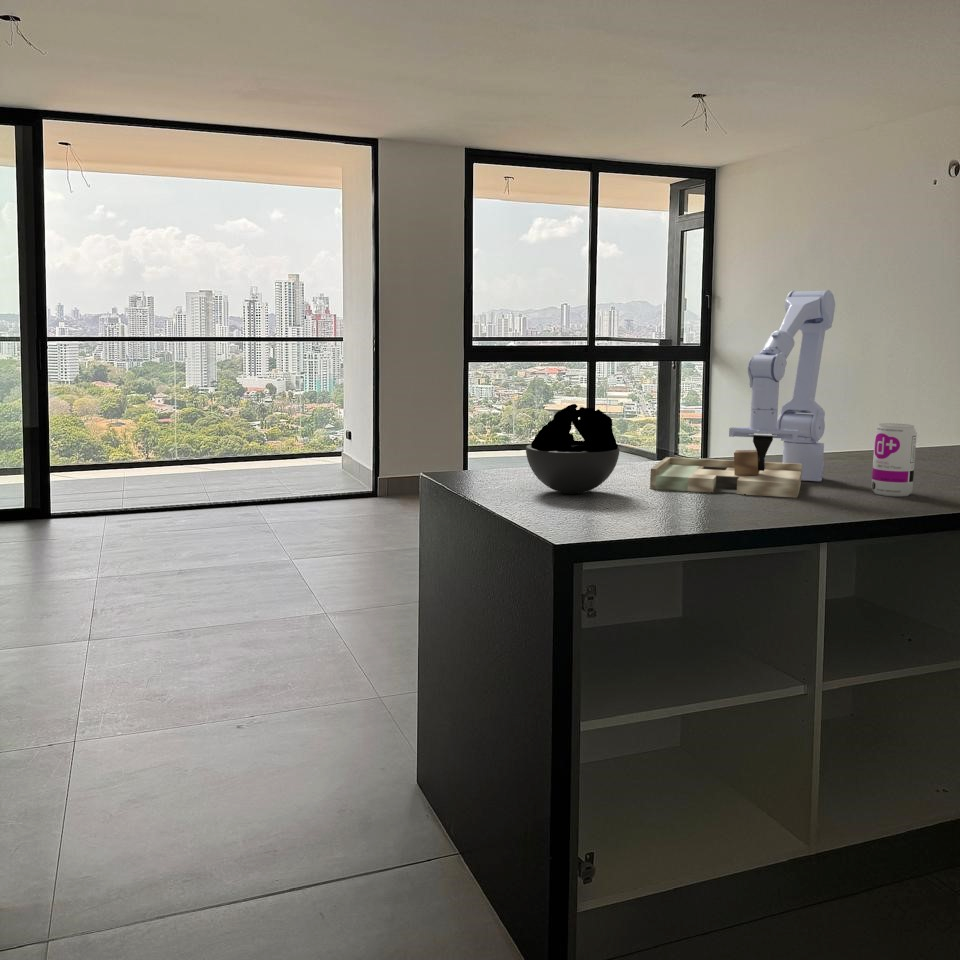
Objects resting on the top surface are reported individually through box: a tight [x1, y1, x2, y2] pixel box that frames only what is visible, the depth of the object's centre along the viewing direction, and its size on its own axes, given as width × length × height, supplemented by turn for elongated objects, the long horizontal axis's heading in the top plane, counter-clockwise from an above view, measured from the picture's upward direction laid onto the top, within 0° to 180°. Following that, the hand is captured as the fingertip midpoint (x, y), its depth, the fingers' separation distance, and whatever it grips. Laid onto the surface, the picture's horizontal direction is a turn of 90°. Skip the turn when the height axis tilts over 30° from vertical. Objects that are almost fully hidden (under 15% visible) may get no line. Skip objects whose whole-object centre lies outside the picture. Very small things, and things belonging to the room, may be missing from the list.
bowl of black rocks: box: [525, 403, 621, 495], centre depth 210 cm, size 20×20×19 cm
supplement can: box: [870, 422, 918, 497], centre depth 212 cm, size 8×8×15 cm
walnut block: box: [733, 449, 760, 475], centre depth 220 cm, size 5×5×5 cm
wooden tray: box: [649, 456, 802, 499], centre depth 222 cm, size 31×21×4 cm
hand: (761, 470), depth 219 cm, fingers closed, pressing on walnut block
